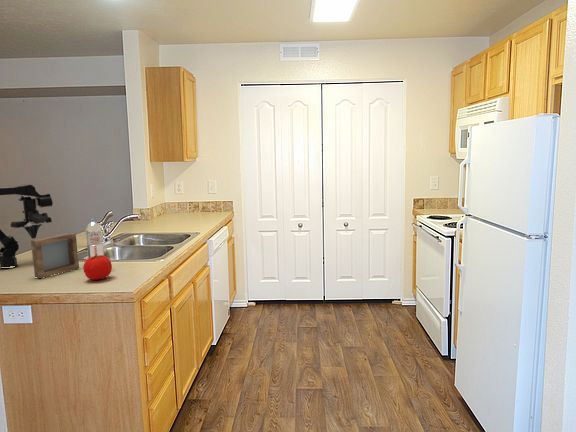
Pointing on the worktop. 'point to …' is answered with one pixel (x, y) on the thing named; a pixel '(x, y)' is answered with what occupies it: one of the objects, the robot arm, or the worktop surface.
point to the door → (55, 254)
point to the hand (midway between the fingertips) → (33, 238)
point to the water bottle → (94, 239)
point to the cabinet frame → (73, 265)
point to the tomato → (97, 267)
